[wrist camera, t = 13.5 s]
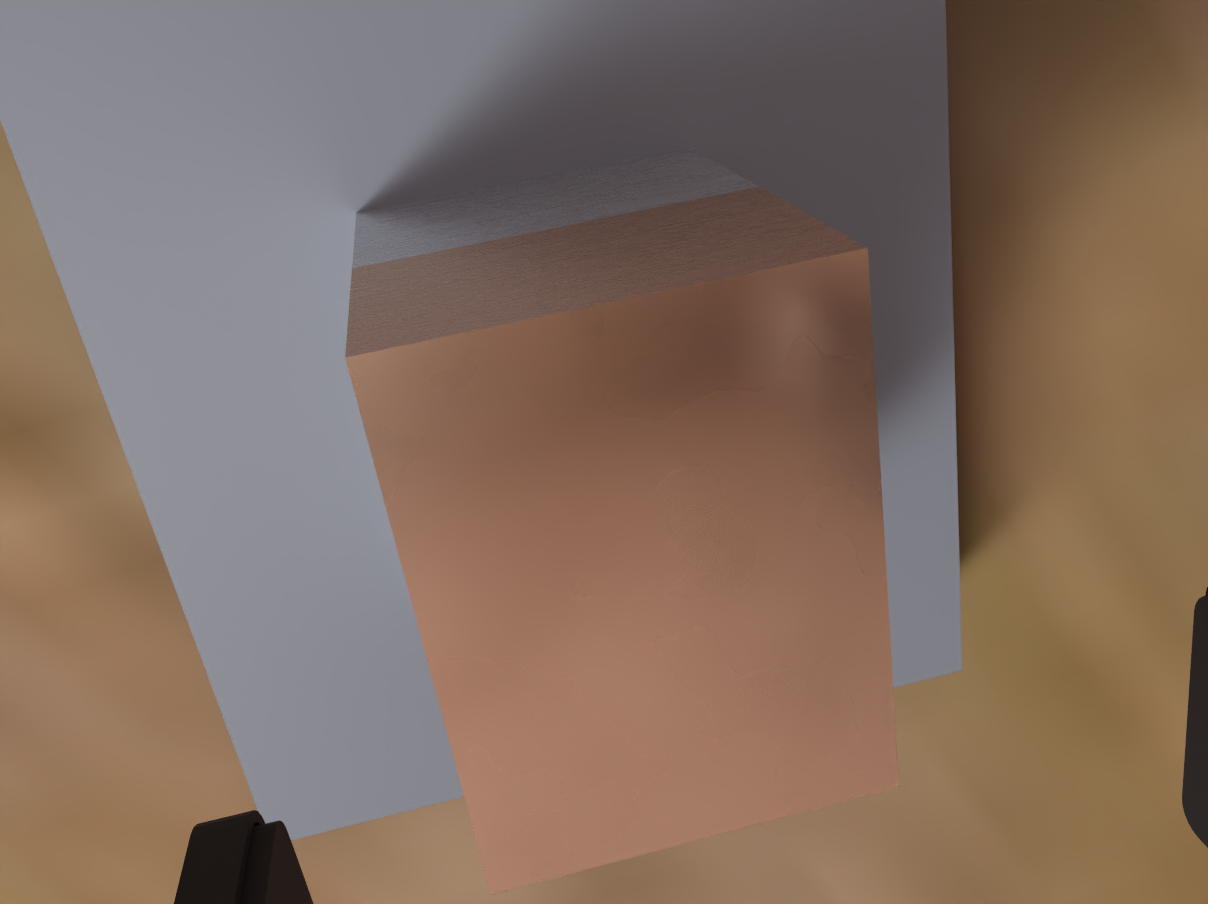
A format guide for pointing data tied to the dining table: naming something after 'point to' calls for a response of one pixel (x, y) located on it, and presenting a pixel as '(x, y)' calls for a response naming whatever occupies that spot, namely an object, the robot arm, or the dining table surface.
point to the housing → (632, 502)
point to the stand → (323, 279)
